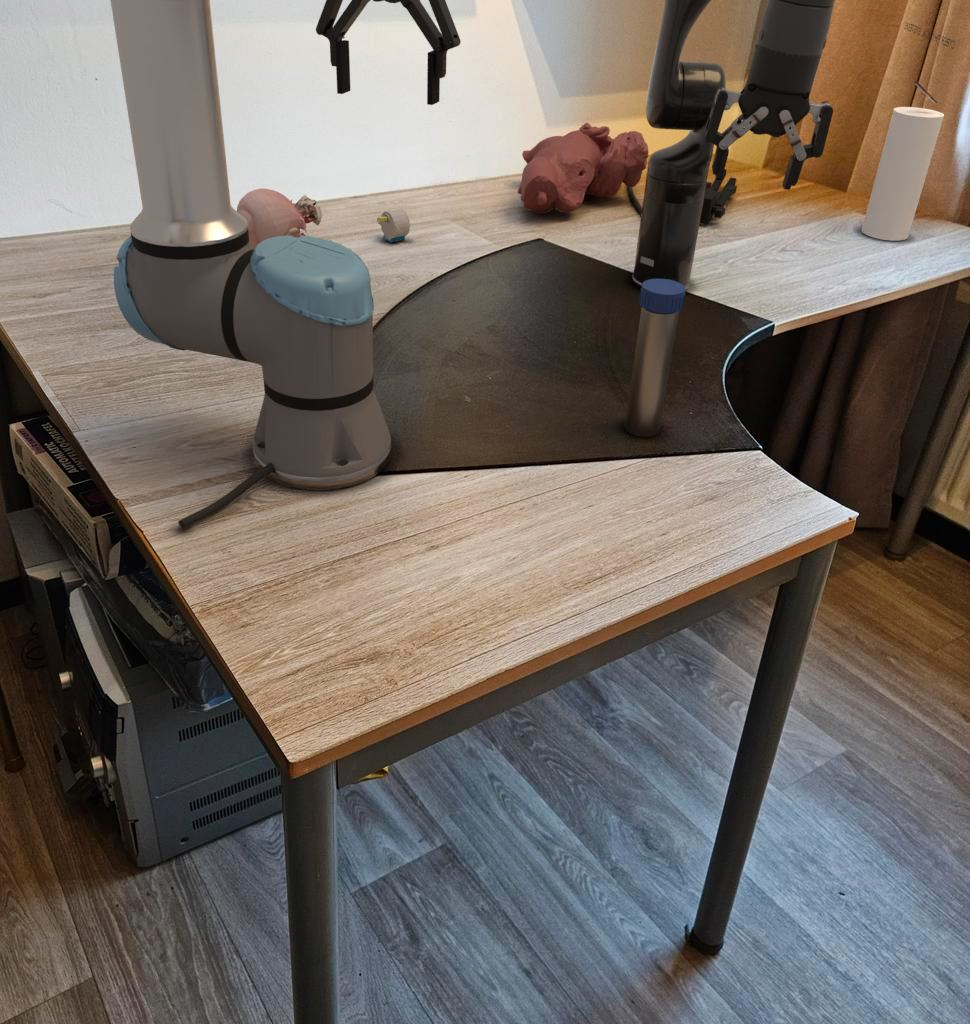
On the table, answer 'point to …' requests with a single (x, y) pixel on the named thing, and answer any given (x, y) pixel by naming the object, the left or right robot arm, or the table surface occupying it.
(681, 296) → the lid
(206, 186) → the left robot arm
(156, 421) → the table surface
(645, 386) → the grey metal cylinder
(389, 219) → the electric motor
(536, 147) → the red clay animal figurine
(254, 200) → the toy
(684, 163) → the right robot arm
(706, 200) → the toy
